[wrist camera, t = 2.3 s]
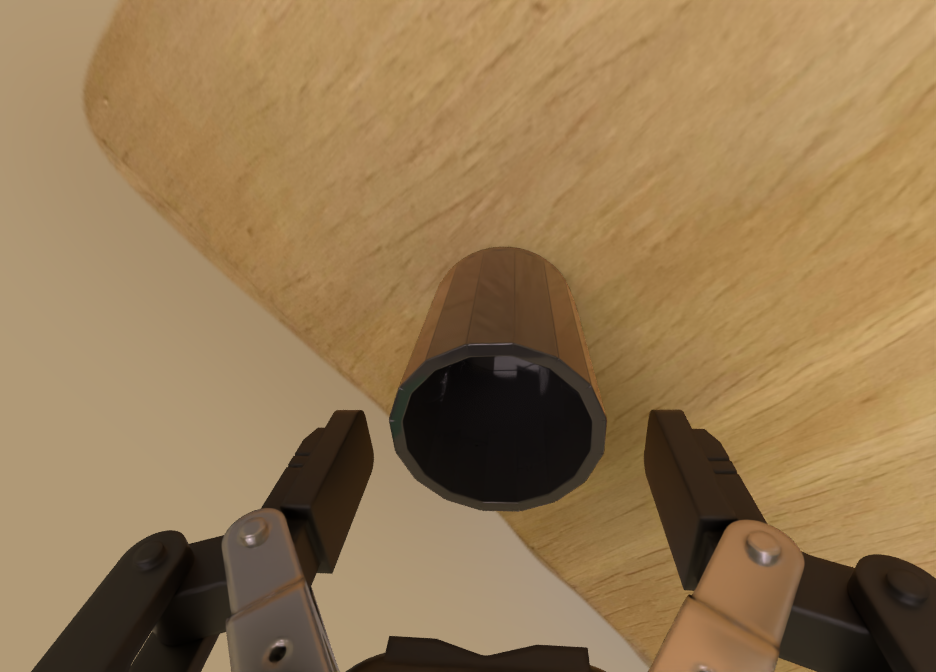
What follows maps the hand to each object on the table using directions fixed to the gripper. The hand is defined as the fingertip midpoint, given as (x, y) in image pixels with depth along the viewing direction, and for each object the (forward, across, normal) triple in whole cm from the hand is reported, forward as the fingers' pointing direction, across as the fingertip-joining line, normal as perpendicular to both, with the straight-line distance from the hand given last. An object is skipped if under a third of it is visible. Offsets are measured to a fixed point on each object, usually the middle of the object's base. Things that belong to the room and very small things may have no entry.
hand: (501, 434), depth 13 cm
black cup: (+8, 0, 0) cm, 8 cm away
